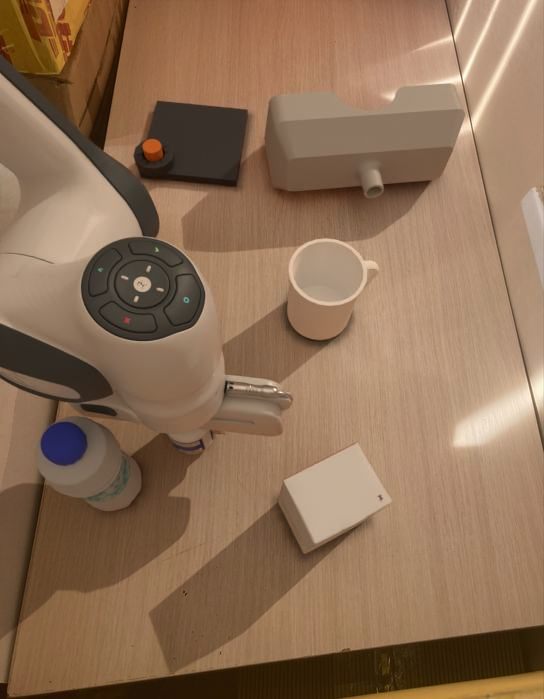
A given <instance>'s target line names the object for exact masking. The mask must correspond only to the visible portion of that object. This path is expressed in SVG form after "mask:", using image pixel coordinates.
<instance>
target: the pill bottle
mask: <svg viewBox="0 0 544 699" xmlns="http://www.w3.org/2000/svg"><path fill="white" fill-rule="evenodd" d="M166 435H167V437H168V439H169V441H170V443H171V444H172V445H173V447H174V448H175V449H176V450H177V451H179V452H180V453H182V454H186V455H197V454H200V453H203V452H204V451H206V450H207V449H208V448H210V446H211V445H212V444H213V442H214V440H215V437H216V434H213V433H212V431H211V430H205V429H195V430H192V431H189V432H185V433H179V434H167V433H166Z"/></svg>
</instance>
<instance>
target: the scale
mask: <svg viewBox="0 0 544 699" xmlns="http://www.w3.org/2000/svg"><path fill="white" fill-rule="evenodd" d="M248 116H249V112H248V109H246V108H235V107H227V106H216V105H206V104H197V103H188V102H187V103H186V102H175V101H166V100H156V103H155V108H154V111H153V115H152V118H151V123H150V127H149V131H148V135H147V138H146V140H142V141H141V142H140V143H138V145H137V146H135V147H134V152H133V155H132V156H133V159H134V164H135V166H136V168H137V170H138V172H139V176H140V178H143V179H151V180H152V179H153V180H161V181H163V180H164V181H172V182H183V183H193V184H203V185H212V186H213V185H214V186H223V187H233V188H237V186H238V181H239V174H240V169H241V162H242V154H243V149H244V141H245V137H246V129H247V123H248ZM149 139H156V140H158V141H159V142H160V143H161V146H162V151H163V157H162V159H161V160H159V161H157V162H150V161H148V160H147V159H146V158H145V155H144V151H143V147H142V146H143V143H144V142H145V141H147V140H149Z"/></svg>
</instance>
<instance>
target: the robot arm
mask: <svg viewBox="0 0 544 699" xmlns="http://www.w3.org/2000/svg"><path fill="white" fill-rule="evenodd" d="M0 164H1V165H2V166H3V167H4V168H6V169H7V170H9V171H10V172H11V173H12V174H14V176H15V177H16V179H17V182H18V185H19V204H18V208H17V209H16V212H15V214H14V215H13V217H12V219H11V220H10V223H9V224H8V226H7V228H6V229H5V231H4V233H3V234H2V237H1V239H0V380H2V381H4V382H5V383H7V384H9V385H11V386H13V387H15V388H17V389H19V390H21V391H23V392H26V393H29V394H31V395H34V396H37V397H40V398H44V399H48V400H51V401H57V402H62V403H67V404H69V406H71V407H72V409H74V411H75V412H76V413H78V414H79V415H81V416H83V417H87V418H94V419H106V420H113V421H124V422H131V423H133V424H136V425H144V426H145V427H146V428H148V429H150V430H152V431H155V432H158V433H161V434H166V435H167V434H179V433H185V432H189V431H192V430H195V429H205V430H211V431H212V433H213V434H215V435H223V436H225V435H226V433H227V432H228V433H235V434H244V435H253V436H262V437H272V438H273V437H279V436H281V435H282V434H284V428H285V419H286V418H285V417H286V411H287V410H290V409H291V406H292V404H293V401H294V398H293V394H292V393H291V392H289V391H285V390H284V388H283V387H282V385H281V384H279V383H278V382H276V381H275V380H271V379H267V378H262V377H251V376H244V375H235V374H234V375H233V374H226V367H225V357H224V352H223V334H222V325H221V320H220V314H219V310H218V304H217V301H216V298H215V296H214V295H215V294H214V293H213V289H212V287H211V285H210V283H209V281H208V280H207V278H206V277H205V275H204V273H203V272H202V271H201V269H200V268H199V267H198V265H197V264H196V263H195V261H193V260H192V259H191V257H190V256H188V255H187V254H186V252H184V251H183V250H182V249H180V248H179V247H177V246H176V245H174V244H172V243H170V242H168V241H166V240H163V239H160V238H157V237H158V235H159V232H160V224H161V223H160V216H159V213H158V210H157V208H156V205H155V202H154V200H153V198H152V195H151V194H150V192H149V191H148V188H147V187H146V186H145V185H144V183H143V182H142V180H141V179H140V178H139V176H137V175H136V173H134V172H133V171H132V170H131V169H129V167H127V166H125V165H124V163H121V162H120V161H119V160H117V159H116V158H114V157H113V156H112V155H110V154H108V153H107V152H106V151H105V150H103V149H101V147H99V146H97V145H96V144H95V143H93V142H92V140H89V138H87V137H86V136H85V135H84V134H83V133H82V132H81V131H80V130H79V129H78V128H77V127H76V126H75V125H74V124H73V123H72V122H71V121H70V120H69V119H68V118H67V117H66V116H65V115H64V114H62V112H60V110H59V109H57V107H55V105H53V103H52V102H50V101H49V100H48V98H47V97H45V96H44V95H43V94H42V92H40V91H39V90H38V89H37V88H36V87H35V86H34V85H33V84H32V83H31V82H30V81H29V80H28V79H27V78H25V76H24V75H23V74H22V73H20V72H19V70H18V69H16V68H15V67H14V65H13V64H11V63H10V61H9V60H8V59H6V58H5V57H4V55H2V54H1V53H0Z"/></svg>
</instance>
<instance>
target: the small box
mask: <svg viewBox="0 0 544 699" xmlns="http://www.w3.org/2000/svg"><path fill="white" fill-rule="evenodd" d="M277 503H278V505H279V507H280V509H281V511H282V513H283V516H284V518H285V519H286V521H287V523H288V525H289V527H290V529H291V532H292V533H293V536H294V537H295V540H296V541H297V543H298V546H299V548H300V549H301V552H302V553H303V554H304V555H306V554H308V553H310V552H313V551H314V550H316V549H318V548H320V547H321V546H323V545H325V544H326V543H327V544H328V542H331V541H332V540H334V539H336V538H337V537H339V536H341V535H344V534H345V533H347V532H348V531H350V530H352V529H354V528H355V527H357V526H359V525H360V524H362V523H364V522H365V521H367V520H368V519H370V518H371V517H372V516H374V515H376V514H377V513H379V512H380V511H382V510H383V509H385V508H388V506H390V505H392V504H393V500H392V498H391V496H390V495H389V494H388V492H387V490H386V488H385V487H384V485H383V483H382V482H381V480H380V478H379V477H378V476H377V474H376V472H375V470H374V468H373V467H372V465H371V464H370V462H369V460H368V458H367V456H366V454H365V453H364V451H363V450H362V448H361V445H360V444H359V443H358V442H354V443H352V444H350V445H348V446H346V447H344V448H342V449H340V450H338V451H336V452H334V453H332V454H330V455H328V456H327V457H324V458H323V459H321V460H319V461H316V462H315V463H313V464H311V465H309V466H307V467H305V468H303V469H302V470H299V471H298V472H296V473H293V474H292V475H290V476H287V477H286V478H284V479H283V480H282V484H281V488H280V492H279V497H278V501H277Z"/></svg>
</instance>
